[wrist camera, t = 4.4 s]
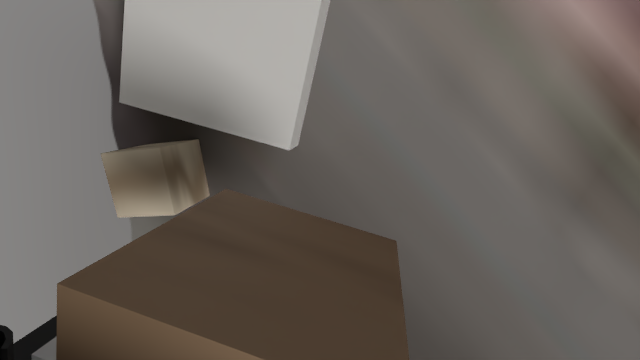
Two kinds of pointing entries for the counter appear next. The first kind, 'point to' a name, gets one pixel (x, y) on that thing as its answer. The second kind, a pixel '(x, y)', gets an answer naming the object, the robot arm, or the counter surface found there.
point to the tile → (224, 63)
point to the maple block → (156, 178)
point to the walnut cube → (238, 291)
